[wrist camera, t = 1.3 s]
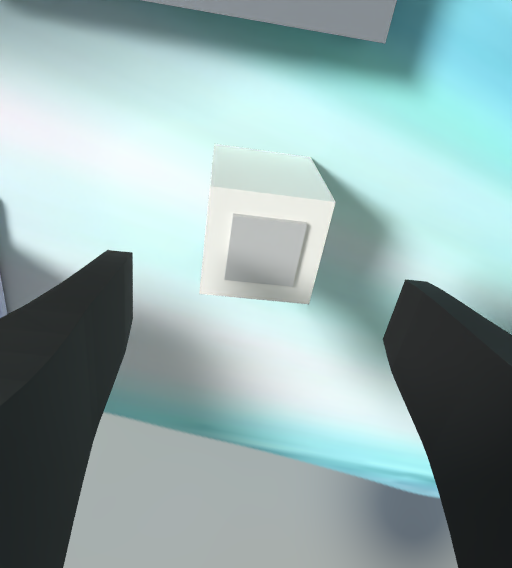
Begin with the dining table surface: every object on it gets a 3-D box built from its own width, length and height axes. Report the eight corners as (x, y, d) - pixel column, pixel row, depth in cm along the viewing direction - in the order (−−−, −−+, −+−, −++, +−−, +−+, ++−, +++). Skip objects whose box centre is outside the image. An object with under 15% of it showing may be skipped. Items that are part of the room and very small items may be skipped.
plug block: (291, 242, 20) (309, 307, 16) (205, 232, 20) (199, 297, 15) (310, 156, 18) (337, 204, 14) (214, 143, 18) (210, 188, 13)
